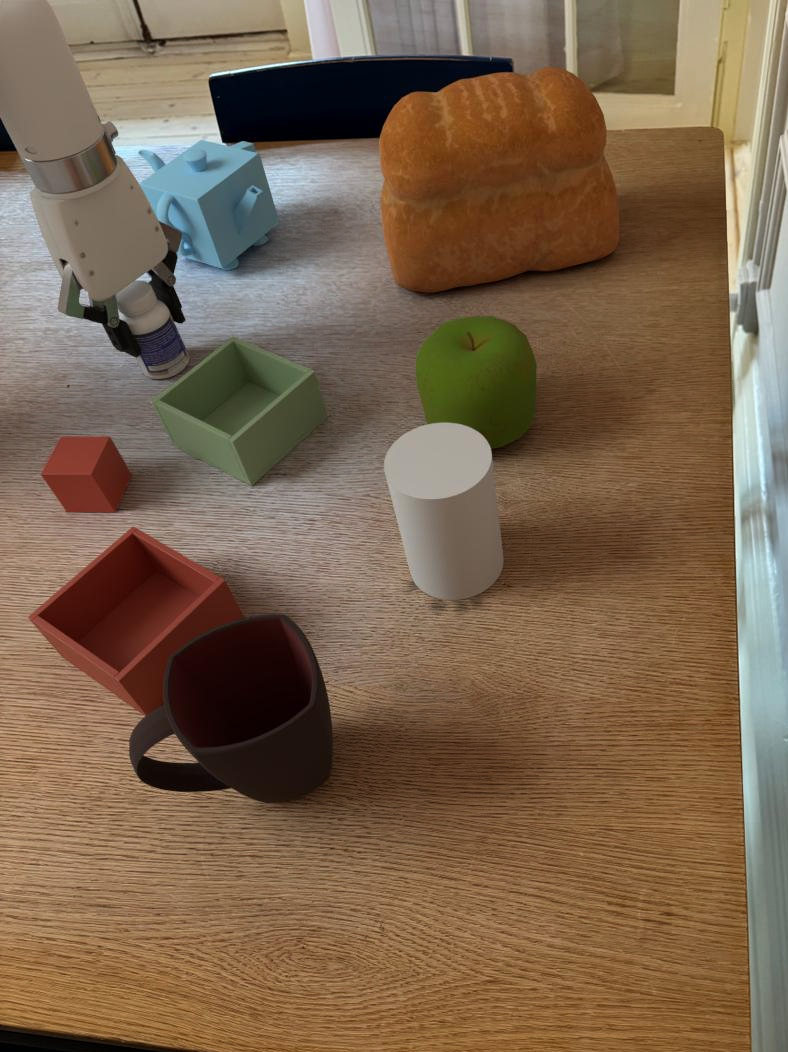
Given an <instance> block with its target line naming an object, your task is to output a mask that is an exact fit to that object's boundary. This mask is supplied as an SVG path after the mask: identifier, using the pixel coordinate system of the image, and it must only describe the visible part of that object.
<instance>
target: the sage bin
mask: <svg viewBox="0 0 788 1052" xmlns="http://www.w3.org/2000/svg"><path fill="white" fill-rule="evenodd" d="M150 403H151V405H152V407H153V409H154V411H155V413H156V415H157V416H158V419H159V420H160V423H161V424H162V426H163V429H164V431H165V432H166V434H167V437H168V438H169V441H170V442H171V444H172V446H173V447H176V448H177V449H179V450H181V451H183V452H185V453H186V454H188V455H191V456H192V457H194V458H197V459H199V460H201V461H202V462H204V463H206V464H208V465H210V466H212V467H214V468H216V469H217V470H219V471H222V472H223V473H226V474H227V475H229V476H231V477H233V478H236V479H237V480H239V481H241V482H243V483H245V484H247V485H249V486H251V487H253V486H254V485H255V484H256V483H258V481H259V480H261V478H263V477H264V476H265V475H266V474H267V473H268V472H270V470H272V469H273V468H274V467H275V466H276V465H277V464H278V463H279V462H280V461H281V460H282V459H284V458H285V457H286V456H287V455H288V454H289V453H291V451H293V450H294V449H295V448H296V447H297V446H298V445H299V444H300V443H301V442H302V441H303V440H305V439H306V438H307V437H308V436H309V435H310V434H311V433H313V432H314V431H315V430H316V429H317V428H318V427H319V426H320V425H321V424H322V423H324V422H325V421H326V420H327V419H328V418H329V413H328V410H327V407H326V402H325V400H324V396H323V392H322V390H321V386H320V383H319V380H318V377H317V374H316V371H315V370H313V369H311V368H309V367H306V366H304V365H301V364H300V363H296V362H295V361H292V360H289V359H287V358H285V357H283V356H280V355H278V354H275V353H273V352H271V351H270V350H269V351H268V350H267V349H264V348H261V347H259V346H257V345H254V344H252V343H249V342H247V341H246V340H243V339H240V338H238V337H235V336H232V337H230V338H229V339H228V340H226V341H225V342H224V343H223V344H221V345H220V346H219V347H218V348H216V349H215V350H214V351H213V352H211V353H210V354H209V355H208V356H206V357H205V358H203V360H201V361H200V362H199V363H197V364H196V365H195V366H194V367H192V368H191V369H190V370H188V371H187V372H186V373H185V374H184V375H182V376H181V377H180V378H179V379H177V380H176V381H175V382H174V383H172V384H171V385H170V386H168V387H167V388H166V389H165V390H164V391H162V392H161V393H159V395H157V396H156V397H154V398H153V399H152V400H150Z"/></svg>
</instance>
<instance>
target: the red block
mask: <svg viewBox="0 0 788 1052" xmlns="http://www.w3.org/2000/svg"><path fill="white" fill-rule="evenodd" d="M40 476H41V478H42V479H43V480H44V481H45V484H47V486H48V488H49V489H50V490H51V492H52V493H53V494H54V496H55V497H56V499H57V500H58V502H59V504H60V505H61V506H62V507H63V509H64V510H65V512H67V513H116V512H117V509H118V507H119V505H120V503H121V501H122V498H123V496H124V494H125V492H126V489H127V488H128V485H129V483H130V480H131V478H132V476H133V474H132V472H131V471H130V469H129V467H128V466H127V464H126V462H125V460H124V458H123V456H122V454H121V453H120V451H119V449H118V448H117V446H116V444H115V442H114V440H113V439H112V437H111V436H110V435H109V436H103V435H102V436H101V435H100V436H98V435H97V436H96V435H95V436H91V435H90V436H89V435H87V436H85V435H84V436H79V435H78V436H60V437H59V438H58V440H57V443H56V444H55V446H54V448H53V450H52V451H51V453H50V456H49V457H48V459H47V461H46V463H45V465H44V467H43V469H42V471H41V473H40Z"/></svg>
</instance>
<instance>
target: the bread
mask: <svg viewBox="0 0 788 1052" xmlns="http://www.w3.org/2000/svg"><path fill="white" fill-rule="evenodd" d="M607 129H608V128H607V124H606V120H605V115H604V112H603V110H602V107H601V105H600V104H599V102H598V99H597V97H596V95H594V93H593V91H592V90H591V89H590V88H589V87H588V85H587V84H586V83H585V82H584V81H583V80H581V79H580V78H579V77H578V76H577V75H576V74H575V73H573V72H571V71H569V70H566V69H564V68H557V67H550V66H544V67H542V68H540V69H538V70H536V71H534V72H531V73H530V74H521V73H518V72H510V71H507V72H506V71H502V72H494V73H489V74H485V75H479V76H476V77H475V76H474V77H470V78H461V79H458V80H456V81H454V82H452V83H450V84H448V85H446V86H445V87H442V88H441V89H440V90H438V91H437V92H433V91H413V92H410V93H409V94H407V95H405V96H403V97H401V99H399V101H398V102H397V103H396V104H394V105H393V107H392V109H391V110H390V112H389V114H388V116H387V118H386V120H385V121H384V124H383V126H382V130H381V132H380V135H379V139H378V141H379V142H378V143H379V144H378V151H379V152H378V153H379V157H380V164H379V165H380V171H381V174H382V176H383V183H382V188H381V195H380V200H379V203H380V215H381V216H380V217H381V227H382V233H383V239H384V243H385V244H384V245H385V248H386V252H387V257H388V261H389V264H390V269H391V272H392V276H393V280H394V282H395V283H396V284H397V286H399V287H401V288H403V289H405V290H407V291H414V292H419V293H427V294H432V293H438V292H445V291H448V290H453V289H455V288H458V287H472V286H476V285H480V284H487V283H492V282H499V281H503V280H505V279H508V278H511V277H515V276H517V275H520V274H522V273H525V272H528V271H535V272H536V271H537V272H555V271H559V270H563V269H566V268H569V267H572V266H573V267H574V266H577V265H581V264H584V263H589V262H594V261H598V260H602V259H604V258H605V257H607V256H608V255H610V254H612V253H613V252H615V251H616V249H617V248H618V244H619V241H620V218H619V204H618V191H617V186H616V182H615V179H614V176H613V173H612V171H611V169H610V166H609V164H608V161H607V159H606V156H605V148H606V145H607V137H608V136H607V133H608V130H607Z"/></svg>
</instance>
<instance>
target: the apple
mask: <svg viewBox="0 0 788 1052" xmlns="http://www.w3.org/2000/svg"><path fill="white" fill-rule="evenodd" d="M530 343H531V342H530V341H529V338H528V336H527V335H526V334H525V333H524V332H523V331H521V330H520V329H519V328H518V327H517V326H516V325H515V324H514V323H511V322H509V321H508V320H505V319H502V318H499V317H496V316H492V315H471V316H463V317H457V318H454V319H451V320H448V321H446V322H443V323H440V324H439V325H438V327H437V328H436V329H434V330H433V332H431V334H430V335H429V336H428V337H427V338H426V339H425V340H424V341H423V342H422V343H421V345H420V347H419V350H418V352H417V353H416V356H415V380H416V381H415V382H416V388H417V392H418V395H419V399H420V402H421V406H422V411H423V414H424V417H425V420H426V425H428V424H433V423H456V424H461V425H465V426H468V427H470V428H472V429H474V430H476V431H478V432H479V433H480V434H481V435H483V437H484V438H485V439H486V440H487V442H488V443H489V445H490V448H491V450H492V449H497V448H503V447H504V446H506V445H509V444H510V443H512V442H514V441H516V440H518V439H520V438H521V437H522V436H523V435H525V433H526V432H527V431H528V430H529V429H531V427H532V425H533V422H534V419H535V415H536V411H537V410H536V409H537V393H538V364H537V361H536V358H535V355H534V351H533V348H532V346H531V344H530Z"/></svg>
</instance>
